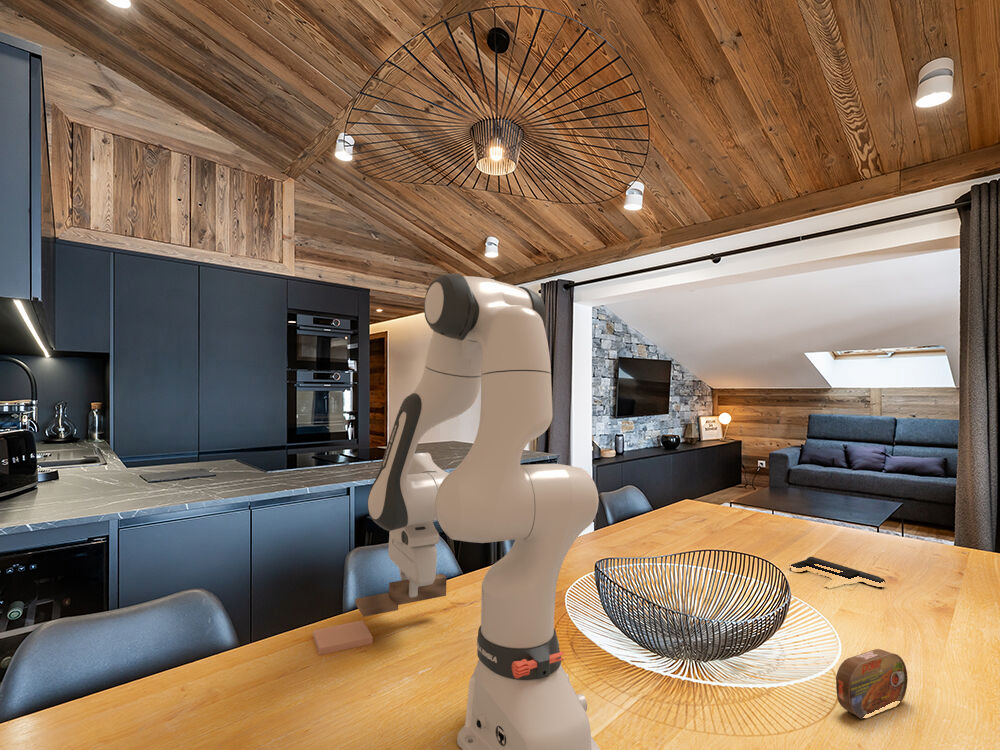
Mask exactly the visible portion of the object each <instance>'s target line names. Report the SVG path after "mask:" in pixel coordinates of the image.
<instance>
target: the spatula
mask: <svg viewBox="0 0 1000 750" xmlns="http://www.w3.org/2000/svg"><path fill="white" fill-rule="evenodd" d="M447 580H448V579H447V576H446V575H445V574H443V573H436V577H435V580H434V582H433V584H431V585H426V586H419V587H418V595H417V596H416V597H412V598H411V597H409V595H408V594H407V592H408V591H407V587H409V583H410V581H409V579H407V580H401V579H400V580H398V581H397V580H396V581H390V582H388V583H389V585H388V592H385V593H380V594H375V595H374V594H373V595H369V596H368V595H367V596H363V597H358V598H355V599H354V604H355V606H356V608H357V609H358V610H359V612H360V614H361V615H362V617H363V618H365V617H370V616H375V615H380V614H384V613H385V614H386V613H389V612H394V611H398V610H399V606H402V605H406V604H411V603H417V602H420V601H421V602H422V601H425V600H426V601H427V600H432V599H436V598H441V597H446V596H447Z"/></svg>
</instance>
